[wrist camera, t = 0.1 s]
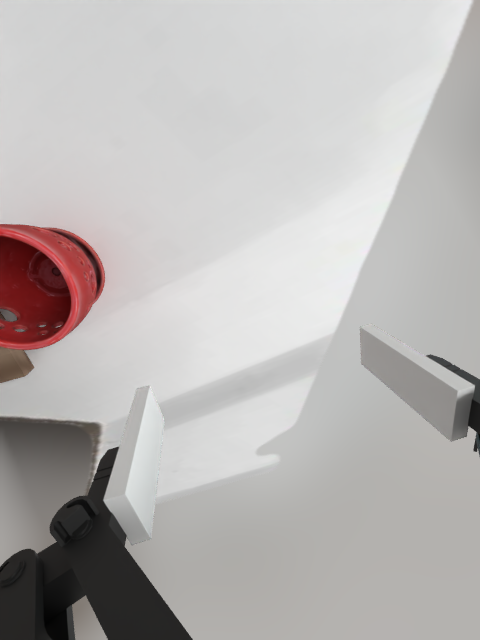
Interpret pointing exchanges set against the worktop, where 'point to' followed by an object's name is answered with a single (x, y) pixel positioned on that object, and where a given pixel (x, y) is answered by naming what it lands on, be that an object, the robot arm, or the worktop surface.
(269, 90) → the worktop surface
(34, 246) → the plant pot
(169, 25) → the worktop surface
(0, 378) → the plate
